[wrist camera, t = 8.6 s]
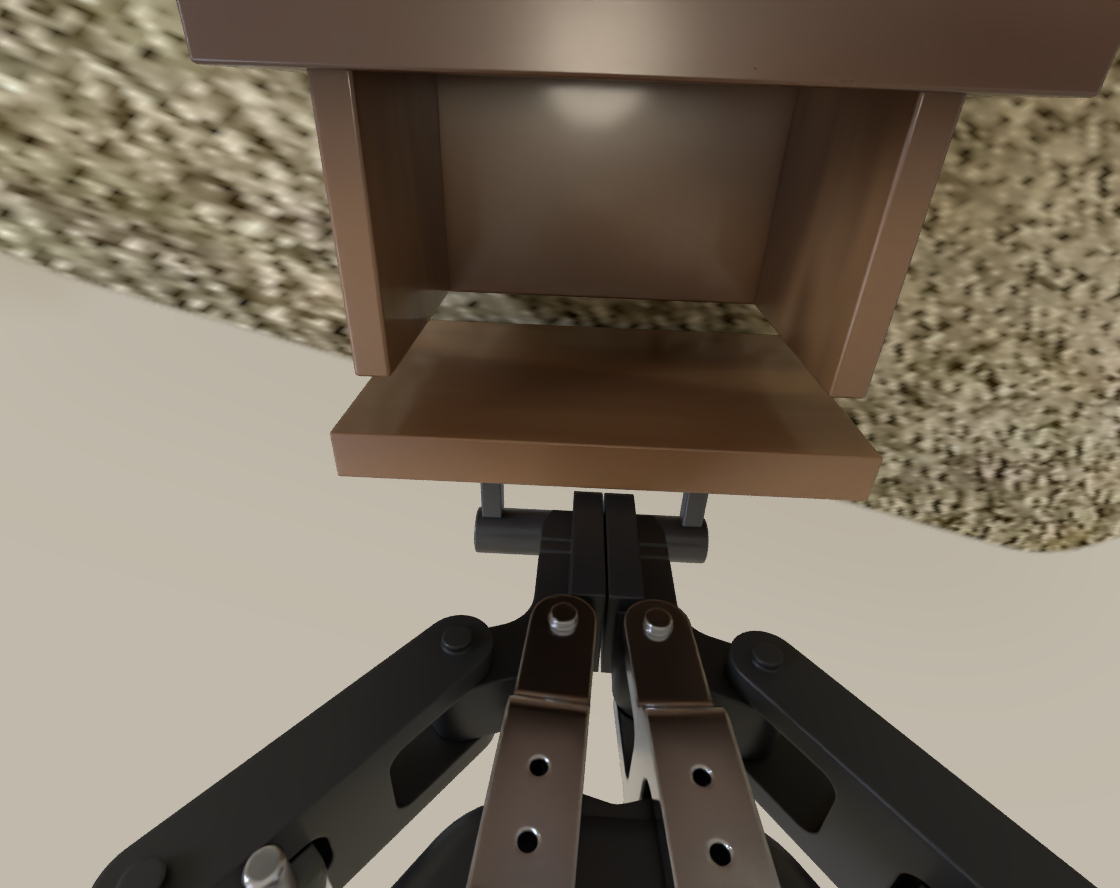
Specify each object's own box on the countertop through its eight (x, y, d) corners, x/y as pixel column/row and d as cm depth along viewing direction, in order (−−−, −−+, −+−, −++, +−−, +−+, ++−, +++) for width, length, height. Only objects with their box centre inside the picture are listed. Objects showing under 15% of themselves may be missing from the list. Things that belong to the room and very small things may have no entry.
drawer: (748, 475, 23) (817, 635, 16) (428, 460, 23) (364, 612, 16) (904, -180, 13) (1226, -455, 7) (364, -196, 14) (150, -479, 7)
